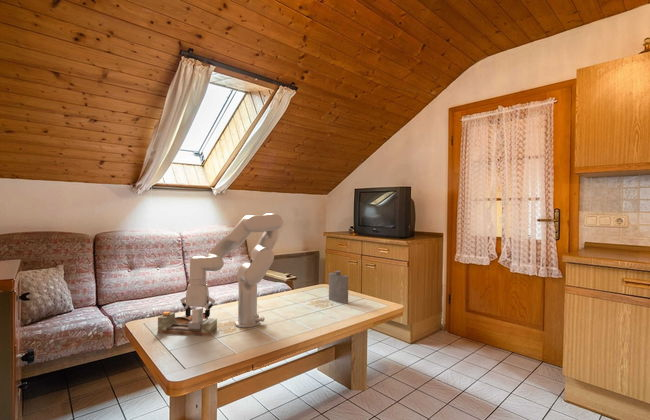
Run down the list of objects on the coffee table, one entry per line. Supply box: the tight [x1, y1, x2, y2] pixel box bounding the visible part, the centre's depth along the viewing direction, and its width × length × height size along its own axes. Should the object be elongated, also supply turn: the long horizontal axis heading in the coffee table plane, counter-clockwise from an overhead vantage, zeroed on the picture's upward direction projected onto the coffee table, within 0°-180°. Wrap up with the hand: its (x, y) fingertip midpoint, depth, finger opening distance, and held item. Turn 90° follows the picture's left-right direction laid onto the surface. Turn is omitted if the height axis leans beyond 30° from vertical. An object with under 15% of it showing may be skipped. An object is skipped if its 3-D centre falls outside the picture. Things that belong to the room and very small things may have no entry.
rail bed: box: [157, 311, 218, 337], centre depth 163 cm, size 26×8×8 cm, turn 84°
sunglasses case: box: [175, 312, 209, 324], centre depth 175 cm, size 18×7×7 cm
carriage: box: [188, 306, 207, 329], centre depth 162 cm, size 6×7×8 cm
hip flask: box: [328, 270, 349, 305], centre depth 218 cm, size 16×4×20 cm, turn 46°
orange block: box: [162, 311, 171, 316], centre depth 164 cm, size 3×3×5 cm
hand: (197, 316), depth 162 cm, fingers open, 9 cm apart
